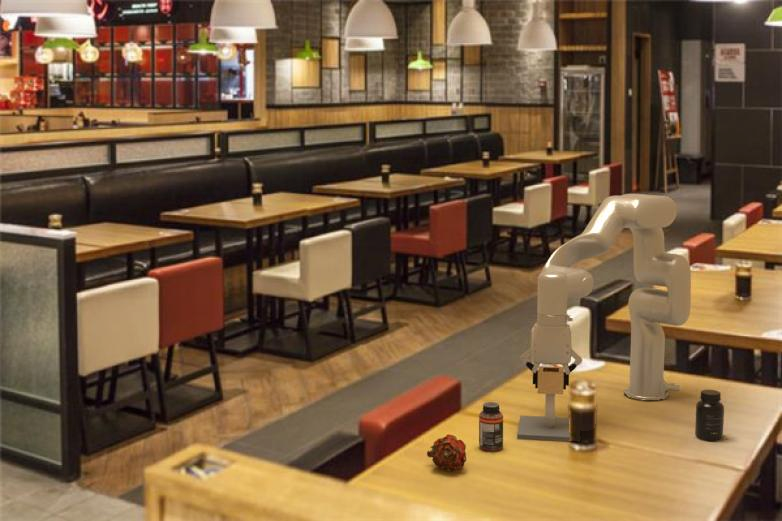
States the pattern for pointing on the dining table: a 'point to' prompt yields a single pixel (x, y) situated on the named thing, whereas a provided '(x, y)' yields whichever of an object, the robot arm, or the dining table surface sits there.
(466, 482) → the dining table surface
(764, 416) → the dining table surface
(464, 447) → the dragon fruit
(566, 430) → the shaft block
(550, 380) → the collar
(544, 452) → the dining table surface
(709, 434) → the supplement bottle
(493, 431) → the supplement bottle
